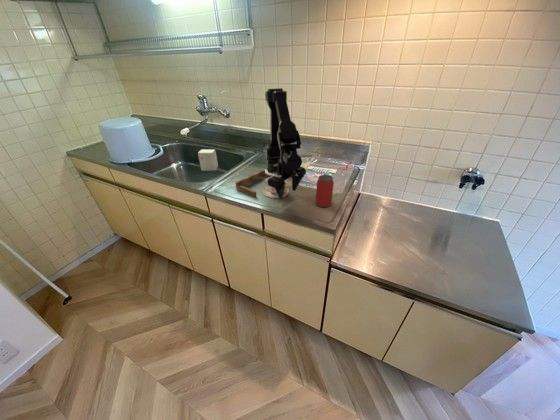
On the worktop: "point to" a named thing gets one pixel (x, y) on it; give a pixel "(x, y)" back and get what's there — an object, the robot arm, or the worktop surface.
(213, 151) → the small box
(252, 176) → the open wooden frame
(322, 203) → the beer can
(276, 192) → the teacup
